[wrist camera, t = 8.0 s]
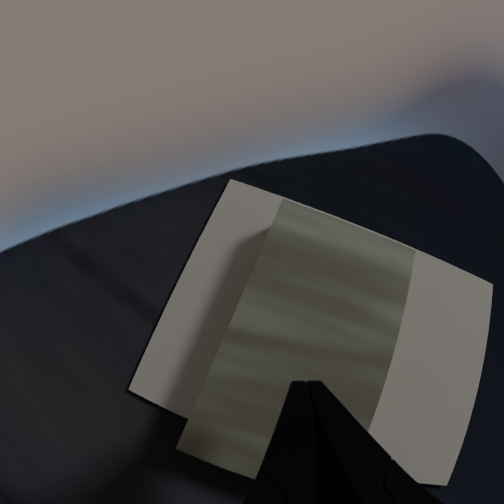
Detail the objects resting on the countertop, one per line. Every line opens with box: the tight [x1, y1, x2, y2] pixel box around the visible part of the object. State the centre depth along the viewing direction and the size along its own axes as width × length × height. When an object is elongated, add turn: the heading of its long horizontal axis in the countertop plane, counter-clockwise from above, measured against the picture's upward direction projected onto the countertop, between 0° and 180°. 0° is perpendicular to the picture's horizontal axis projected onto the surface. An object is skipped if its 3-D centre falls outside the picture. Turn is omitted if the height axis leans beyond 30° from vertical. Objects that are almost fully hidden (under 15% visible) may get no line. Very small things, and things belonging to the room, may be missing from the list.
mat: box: [129, 179, 493, 485], centre depth 15 cm, size 13×18×1 cm
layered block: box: [176, 199, 415, 479], centre depth 14 cm, size 2×7×12 cm
